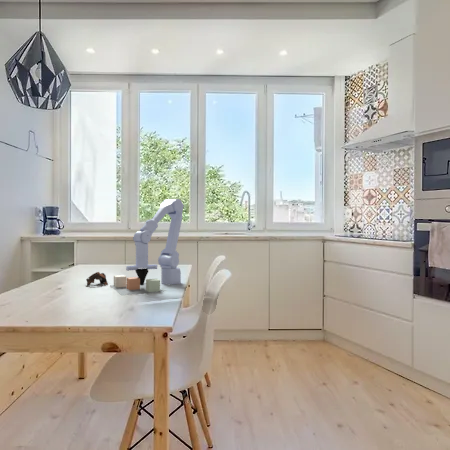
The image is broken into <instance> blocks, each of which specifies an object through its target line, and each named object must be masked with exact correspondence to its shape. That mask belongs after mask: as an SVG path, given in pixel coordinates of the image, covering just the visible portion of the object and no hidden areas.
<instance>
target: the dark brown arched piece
mask: <svg viewBox="0 0 450 450" xmlns="http://www.w3.org/2000/svg"><path fill="white" fill-rule="evenodd" d="M95 280H96V281H99V283H100V284H103V285H104V286H108V285H109V284H108V280H107V276H106V274H105V273H104V272H100V271H96V272H95V273H92V274H91V275H89V277H87V278H86V284H87V286H89V285H91V284H95Z"/></svg>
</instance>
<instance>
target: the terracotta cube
mask: <svg viewBox="0 0 450 450" xmlns="http://www.w3.org/2000/svg"><path fill="white" fill-rule="evenodd" d="M126 284H127V289H129V290H135V289H140V278H138V276H132V277H129V276H128V277H126Z"/></svg>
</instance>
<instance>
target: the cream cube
mask: <svg viewBox="0 0 450 450" xmlns="http://www.w3.org/2000/svg"><path fill="white" fill-rule="evenodd" d="M126 284H127V275H126V274H121V275H120V274H119V275H118V274H117V275H113V285H114V286H115V287H116V288H117V287H126Z"/></svg>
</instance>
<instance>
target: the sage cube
mask: <svg viewBox="0 0 450 450" xmlns="http://www.w3.org/2000/svg"><path fill="white" fill-rule="evenodd" d="M145 283H146V290H147V291H148V292H154V293H158V292H157V291H160V289H161V280H160V279H159V278H149V279H148V278H147V279H146V278H145Z"/></svg>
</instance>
